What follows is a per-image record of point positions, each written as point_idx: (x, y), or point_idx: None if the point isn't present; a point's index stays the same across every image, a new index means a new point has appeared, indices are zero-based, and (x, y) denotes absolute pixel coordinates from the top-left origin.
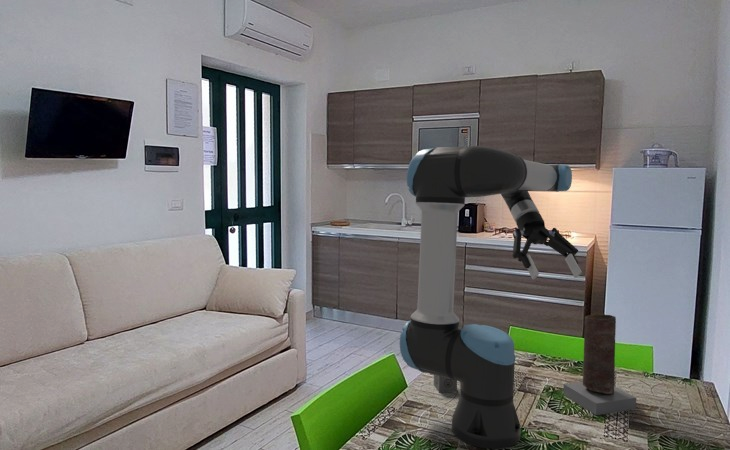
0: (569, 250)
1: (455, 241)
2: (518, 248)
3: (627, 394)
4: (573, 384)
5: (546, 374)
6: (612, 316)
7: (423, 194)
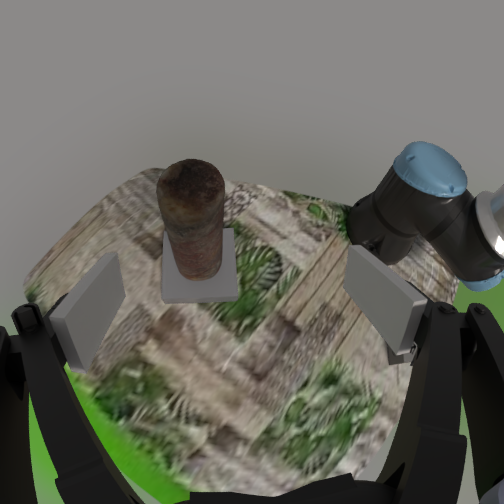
0: (34, 340)
1: None
2: (488, 324)
3: (167, 241)
4: (222, 290)
5: (214, 383)
6: (162, 179)
7: None
